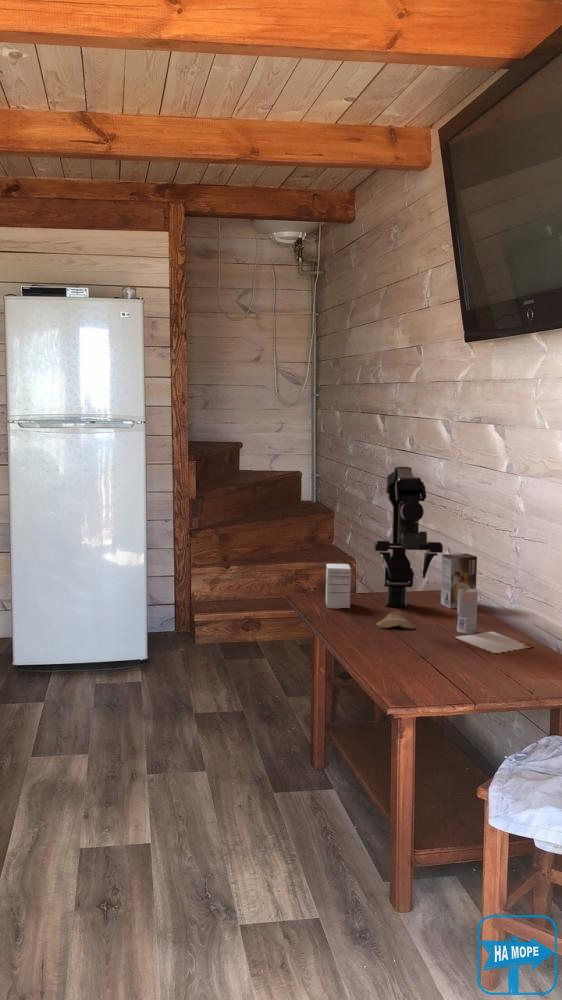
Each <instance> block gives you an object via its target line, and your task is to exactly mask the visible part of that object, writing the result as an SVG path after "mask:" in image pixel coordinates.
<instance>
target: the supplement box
mask: <svg viewBox="0 0 562 1000" xmlns="http://www.w3.org/2000/svg"><path fill="white" fill-rule="evenodd" d="M325 567H326V568H325V569H326V571H325V604H326V608H327V609H340V608H349V609H351V590H352V589H351V586H352V585H351V584H352V583H351V581H352V569H351V566H350V564H349V563H326V565H325Z"/></svg>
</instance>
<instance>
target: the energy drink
mask: <svg viewBox="0 0 562 1000" xmlns="http://www.w3.org/2000/svg"><path fill="white" fill-rule="evenodd" d="M478 595H479V594H478V590H477V588H476V589H472V588H460V589H459V591H458V605H457V608H456V610H457V611H456V628H455V629H456V630H455V631H456V632H457V633H458V634H462V635H472V634H476V632H477V622H478V621H477V617H478V598H479V596H478Z"/></svg>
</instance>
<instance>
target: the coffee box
mask: <svg viewBox="0 0 562 1000" xmlns="http://www.w3.org/2000/svg"><path fill="white" fill-rule="evenodd" d="M441 556H442V557H441V582H440V586H441V588H440V605H442V606H443V607H447V608H448V609H457V605H458V591H459V589H460V588H472V589H476V590H477V572H478V571H477V570H478V567H477V566H478V556H476V555H473V554H470V553H447V554H444V553H443V554H442V555H441Z"/></svg>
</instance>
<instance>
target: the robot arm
mask: <svg viewBox="0 0 562 1000" xmlns="http://www.w3.org/2000/svg"><path fill="white" fill-rule="evenodd" d="M385 483H386V484H385V485H386V486H385V492H386V494H387V500H388V501H389V503H390V505H391V506H392V523H391V524H392V525H391V527H392V528H391V530H392V531H391V533H392V534H391V542H390V541H389V540H375V541H374V543H373V551H375V552H377V554H378V555H382V557H383V560H384V562H385V564H386V566H385V567H384V569H383V570H384V571H383V575H382V576H383V577H382V579H383V580H382V583H383V586H384V588H385V587H387V600H386V602H385V607H388V606H392V608H407V607H408V601H407V588H412V587H413V586H414V578H415V577H414V576H415V573H414V571H413V568H412V567H411V561H410V560H409V559H408V556H407V554H406V550H407V551H426V552H424V557H423V558H424V559H423V566H422V578H423V579H424V578H426V575H427V572H428V569H429V567H430V563H431V562H432V561H433V558H434V557H435V556H438V553H441V554H442V553H443V552H444V551H443V550H444V549H443V548H444V546H443V543H442V542H439V541H427V540H428V533H427V531H422V530H421V531H420V529H419V528H420V527H419V526H420V524H419V523H420V520H421V519H423V516H424V511H425V510H424V507H423V506H422V504H421V503H420V502H425V500H426V499H427V492H426V491H427V490H426V485H425V484H424V481H422V478H421V477H419V476H414V474H413V472H412V467H409V466H396V467H394V469H393V471H392V472H391V473H390V474H389V475H387V477H386V482H385ZM390 550H391V552H390ZM443 554H444V553H443Z"/></svg>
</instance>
